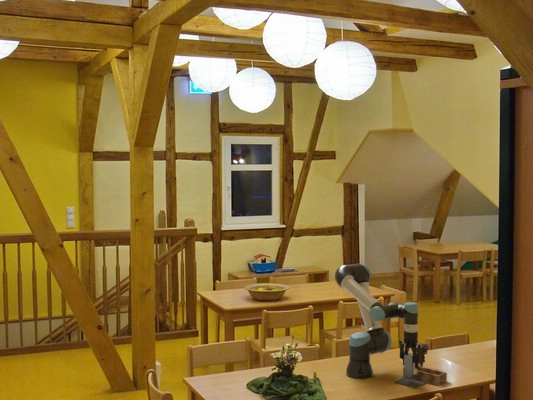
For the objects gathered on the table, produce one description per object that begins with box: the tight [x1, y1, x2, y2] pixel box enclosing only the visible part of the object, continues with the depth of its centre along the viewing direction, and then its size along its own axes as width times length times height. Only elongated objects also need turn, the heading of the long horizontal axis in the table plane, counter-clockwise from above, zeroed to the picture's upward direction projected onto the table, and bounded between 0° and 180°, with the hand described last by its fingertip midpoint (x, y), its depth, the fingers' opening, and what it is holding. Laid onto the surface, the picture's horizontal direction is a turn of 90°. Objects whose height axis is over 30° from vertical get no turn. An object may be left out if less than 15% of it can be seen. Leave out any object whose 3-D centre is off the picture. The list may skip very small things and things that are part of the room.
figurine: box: [416, 343, 430, 367], centre depth 400 cm, size 7×22×15 cm, turn 137°
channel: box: [402, 365, 448, 386], centre depth 384 cm, size 22×9×5 cm, turn 47°
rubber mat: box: [393, 376, 427, 389], centre depth 377 cm, size 14×10×1 cm
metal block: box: [403, 352, 417, 379], centre depth 376 cm, size 5×5×12 cm
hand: (410, 372), depth 376 cm, fingers closed on metal block, 5 cm apart
